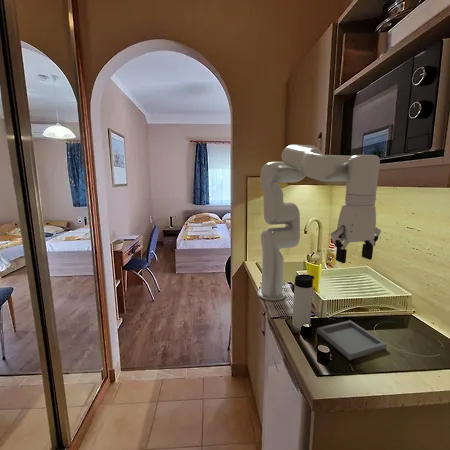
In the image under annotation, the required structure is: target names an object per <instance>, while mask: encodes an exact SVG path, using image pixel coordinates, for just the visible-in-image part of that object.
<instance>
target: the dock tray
mask: <svg viewBox="0 0 450 450" xmlns="http://www.w3.org/2000/svg"><path fill="white" fill-rule="evenodd" d="M316 329H317V330H316V333H317V335H318V336H320V337H321V338H322V339H323V340H325V341H326V342H327V343H328V344H329V345H330V346H332V347H333V348H334V349H335V350H336V351H337V352H339V353H340V354H341V355H343V356H344V357H345V358H346V359H347V360H349V361H351V360H354V359H359V358H361V357H365V356H369V355H372V354H375V353H378V352H382V351H385V350H387V343H386V342H384V341H383V340H381V339H379V338H378V337H377V336H375V335H374V334H372V333H371V332H369V331H368V330H366V329H365V328H363V327H362V326H360V325H359V324H357V323H355V322H353V320H352V319H349V320H346V321H343V322H338V323H333V324H329V325H324V326H319V327H317V328H316Z"/></svg>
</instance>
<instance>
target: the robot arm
mask: <svg viewBox="0 0 450 450" xmlns="http://www.w3.org/2000/svg"><path fill="white" fill-rule="evenodd" d="M281 160H282V161H271V162H270V161H269V162H267V163H265V164H264V165H263V166H262V167H261V170H260V175H259V177H260V178H259V179H260V184H261V189H262V195H263V218H264V222H265V223H266V224H267V225H270V226H271V225H274V226H275V225H276V226H277V225H284V226H281V227H280V226H279V227H268V228H266V229H263V231H262V232H261V234H260V242H261V249H262V250H261V251H262V252H261V253H262V257H261V258H262V259H261V260H262V262H261V281H260V283H259V284H260V286H261V288H259V289H258V291H257V295H258V297H259V298H261V299H263V300H266V301H269V302H270V301H271V302H278V301H282V300H283V299H285V298H286V292H285V290H283V287H284V285H283V284H284V283H283V282H284V281H283V280H284V279H283V278H284V264H285V263H284V262H285V261H284V260H285V257H284V256H283V254H282V253H281V251H280V250H281V249H290V248H294V247H295V248H296V247H297V246H298V245H299V243H300V238H301V217H300V216H301V215H300V209H299V207H298V206H297V204H295V203H293V202H284V191H283V190H282V187H281V186H280V185H279V184H278V183H299V182H300V181H302V180H303V179H304V178H309V179H314V180H316V181H319V182H346V186H345V187H346V188H345V198H344V205H342V206H341V209H340V213H339V216H338V220H337V227H336V230H334V231H333V232H330V238H331V240H332V244H333V245H334V248H336V251H335V261H337V262H339V263H341V264H346V262H347V252H348V251H347V250H348V249H346V248H347V247H348V245H349V244H350V243H359V242H363V244H362V246H361V247H362V249H361V257H362V258H364V259H366V260H369V261H370V260H373V254H374V253H373V252H374V247H375V246H376V242H377V241H378V240H379V237H380V234H381V233H382V229H380V228H378V227H377V222H376V221H377V210H376V200H377V190H378V181H379V180H378V179H379V172H380V164H381V163H380V162H381V160H380V157H379V156H378V155H377V154H376V155H375V154H357V155H355V154H354V155H344V154H343V155H340V154H338V155H337V154H323V152H322V151H321V150H320V149H319V148H318V146H315V145H312V144H290V145H288V146H286V147H285V148H284V149H283V150H282V152H281Z"/></svg>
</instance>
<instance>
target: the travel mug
mask: <svg viewBox="0 0 450 450" xmlns="http://www.w3.org/2000/svg"><path fill="white" fill-rule="evenodd" d="M314 279H315V276H314V275H312V274H311V275H310V274H306V273H305V274H304V273H303V274H297V275H296V276H295V277H294V286H293V287H294V288H293V289H294V290H293V304H292V305H293V306H292V321H291V322H292V324H291V327H292V328H293V330H295V331H297V332H301V327H302V325H304V324H310V325H311V316H312V303H313V302H312V301H313V290H314V289H313V288H314Z"/></svg>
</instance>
